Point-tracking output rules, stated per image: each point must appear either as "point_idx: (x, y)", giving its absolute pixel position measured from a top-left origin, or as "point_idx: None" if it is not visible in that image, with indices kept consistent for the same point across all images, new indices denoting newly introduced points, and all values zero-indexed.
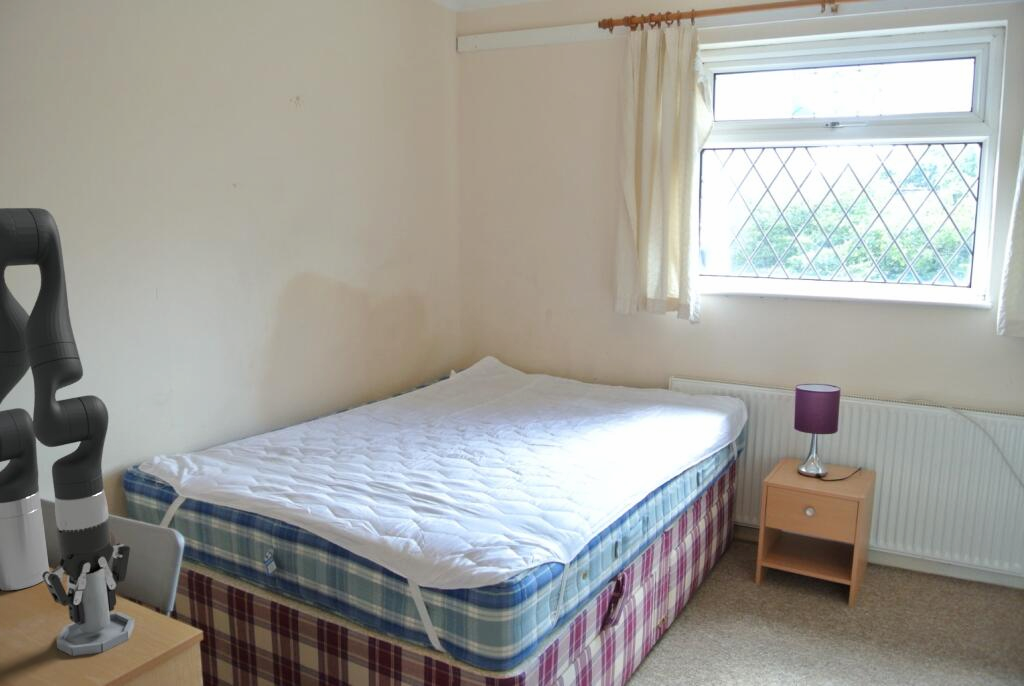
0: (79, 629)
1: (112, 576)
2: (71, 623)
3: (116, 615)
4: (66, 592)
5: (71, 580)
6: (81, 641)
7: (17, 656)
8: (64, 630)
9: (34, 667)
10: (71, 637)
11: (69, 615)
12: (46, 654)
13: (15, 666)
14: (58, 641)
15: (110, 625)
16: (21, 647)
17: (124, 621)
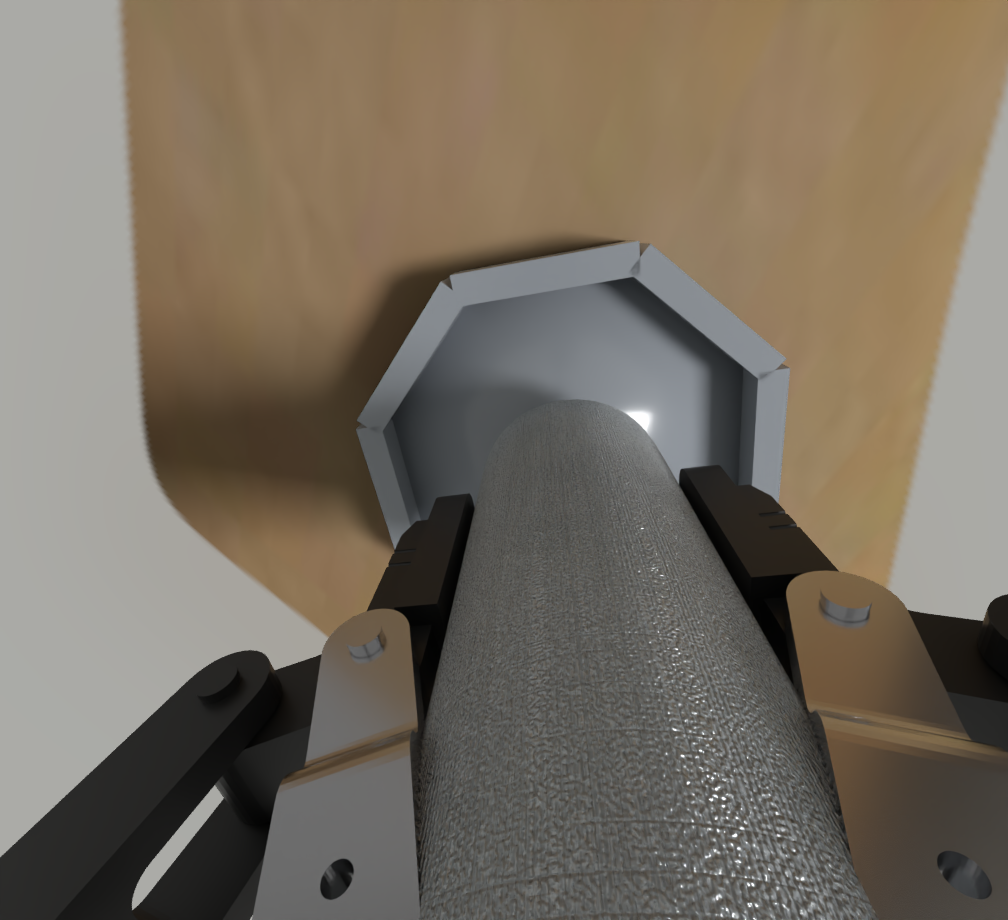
0: (524, 326)
1: (975, 735)
2: (494, 268)
3: (753, 387)
4: (315, 705)
5: (337, 893)
6: (478, 476)
7: (180, 325)
8: (425, 341)
9: (251, 499)
10: (453, 390)
11: (395, 551)
12: (315, 426)
13: (172, 424)
14: (363, 447)
15: (669, 429)
16: (202, 223)
17: (742, 460)
